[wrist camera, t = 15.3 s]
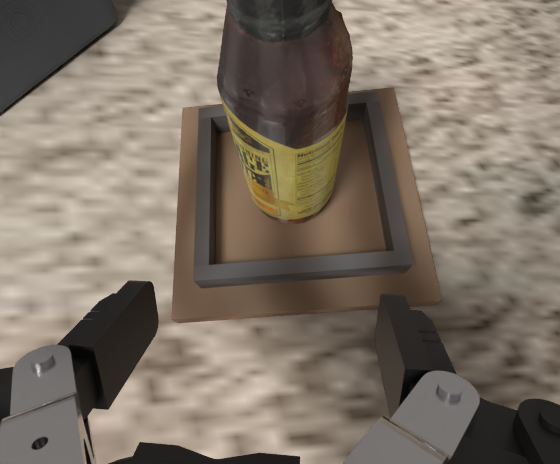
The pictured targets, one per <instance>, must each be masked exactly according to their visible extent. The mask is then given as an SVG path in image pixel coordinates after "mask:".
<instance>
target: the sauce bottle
mask: <svg viewBox="0 0 560 464" xmlns="http://www.w3.org/2000/svg"><path fill="white" fill-rule="evenodd" d="M352 59H353V56H352V46H351V41H350V35H349V33H348V31H347V28H346V26H345V23H344V21H343V18H342V14H341V12H339V11H337V10H336V9H335V7H334V5H333V3H332V0H227V8H226V15H225V22H224V30H223V37H222V45H221V52H220V60H219V67H218V74H217V86H218V90H219V93H220V97H221V100H222V104H223V108H224V111H225V114H226V117H227V120H228V124H229V127H230V130H231V134H232V137H233V141H234V145H235V147H236V150H237V154H238V157H239V160H240V163H241V167H242V170H243V173H244V176H245V180H246V183H247V186H248V190H249V193H250V195H251V198H252V199H253V201H254V202H255V204H256V205H257V206H258V207H259V209H260V210H261V211H262V212H263V213H264V214H265V215H266V216H267V217H269V218H270V219H271V220H275V221H278V222H284V223H296V224H297V223H303V222H305V221H307V220H309V219H311V218H313V217H314V216H316V215H317V214H318V213H319V212H320V211H321V210H322V209H323V208H324V207H326V205H327V204H328V202H329V200H330V196H331V194H332V191H333V188H334V182H335V177H336V171H337V165H338V160H339V154H340V149H341V143H342V137H343V132H344V126H345V121H346V115H347V109H348V103H349V95H348V88H349V83H350V77H351V72H352Z"/></svg>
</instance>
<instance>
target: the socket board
mask: <svg viewBox="0 0 560 464" xmlns="http://www.w3.org/2000/svg"><path fill="white" fill-rule="evenodd" d="M348 95H349V103H348V109H347V115H346V121H345V126H344V132H343V137H342V143H341V149H340V154H339V160H338V165H337V171H336V177H335V182H334V188H333V191H332V194H331V196H330V200H329V202H328V204H327V205H326V207H324V208H323V209H322V210H321V211H320V212H319V213H318V214H317V215H316V216H314V217H313V218H311V219H309V220H307V221H305V222H303V223H297V224H296V223H284V222H278V221H275V220H271V219H270V218H269V217H267V216H266V215H265V214H264V213H263V212H262V211H261V210H260V209H259V207H258V206H257V205H256V204H255V202H254V201H253V199H252V198H251V195H250V193H249V190H248V186H247V183H246V180H245V176H244V173H243V170H242V167H241V163H240V160H239V157H238V154H237V150H236V147H235V145H234V141H233V137H232V134H231V130H230V127H229V124H228V120H227V117H226V114H225V111H224V108H223V104H217V105H207V106H197V107H186V108H183V111H182V130H181V149H180V168H179V187H178V206H177V225H176V244H175V262H174V281H173V300H172V319H171V320H173V321H175V322H178V323H186V322H200V321H214V320H228V319H242V318H256V317H270V316H284V315H298V314H313V313H327V312H341V311H355V310H369V309H379V301H380V296H381V294H398V295H404V296H405V298H406V300H407V303H408V305H409V307H411V306H425V305H435V304H437V303H438V302H440V301H442V298H441V294H440V289H439V285H438V281H437V276H436V272H435V267H434V263H433V259H432V254H431V250H430V245H429V241H428V236H427V232H426V228H425V223H424V219H423V214H422V210H421V206H420V201H419V197H418V192H417V188H416V183H415V179H414V175H413V170H412V166H411V161H410V157H409V153H408V148H407V144H406V139H405V135H404V131H403V126H402V122H401V117H400V113H399V108H398V104H397V100H396V95H395V91H394V88H384V89H373V90H363V91H352V92H348Z"/></svg>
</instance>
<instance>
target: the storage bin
mask: <svg viewBox="0 0 560 464" xmlns="http://www.w3.org/2000/svg"><path fill="white" fill-rule="evenodd" d="M116 20H117V13H116V11H115V9H114V6H113V4H112V2H111V0H0V113H1V112H2V111H3V110H5V109H6V108H7V107H8V106H10V105H11V104H12V103H13V102H15V101H16V100H17V99H19V98H20V97H21V96H22V95H24V94H25V93H26V92H27V91H29V90H30V89H31V88H33V87H34V86H35V85H36V84H38V83H39V82H40V81H41V80H43V79H44V78H45V77H46V76H48V75H49V74H50V73H52V72H53V71H54V70H56V69H57V68H58V67H59V66H61V65H62V64H63V63H65V62H66V61H67V60H69V59H70V58H71V57H72V56H74V55H75V54H76V53H78V52H79V51H80V50H81V49H83V48H84V47H85V46H87V45H88V44H89V43H90V42H92V41H93V40H94V39H96V38H97V37H98V36H99V35H101V34H102V33H103V32H105V31H106V30H107V29H108V28H110V27H111V26H112V25H113V24H114V23H115V22H116Z"/></svg>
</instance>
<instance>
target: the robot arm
mask: <svg viewBox="0 0 560 464" xmlns="http://www.w3.org/2000/svg"><path fill="white" fill-rule="evenodd" d="M157 329H158V312H157V305H156V299H155V292H154V286H153V284H152V282H150V281H131V280H130V281H128V282H127V283H126V284H125V285H124V286H123V287H122V288H121V289H120V290H119V291H118V292H117V293H116V294H115V293H113V294H111V295H109V296H108V297H106V298H104V299H103V300H101V301H99V302H98V303H97V304H96V305H95V306H94V307H93V308H92V310H91V312H89V313H88V314H87V315H86V316H85V317H84V318H83V320H81V321H80V322H79V323H78V324H77V325H76V326H75V327H74V328H73V329H72V330H71V331H70V332H69V333H68V334H67V335H66V336H65V337H64V338H63V339H62V340H61V341H60V342H59V343H58V344H57V345H50V346H45V347H41V348H38V349H36V350H34V351H32V352H30V353H28V354H26V355H25V356H23V357H22V358H21V359H20V360H19V361H18V362H17V363H16V364H15V366H14V367H10V368H4V369H0V464H97V463H96V457H95V451H94V445H93V439H92V434H91V428H90V422H89V418H88V415H89V413H90V412H91V410H92V409H93V408H95V409H107V410H108V409H109V408H110V406H111V405H112V403H113V401H114V400H115V398H116V397H117V395H118V393H119V392H120V390H121V389H122V387H123V386H124V384H125V382H126V381H127V379H128V378H129V376H130V374H131V373H132V371H133V370H134V368H135V367H136V365H137V363H138V362H139V360H140V359H141V357H142V355H143V354H144V352H145V351H146V349H147V348H148V346H149V344H150V343H151V341H152V340H153V338H154V337H155V335H156V332H157ZM375 342H376V351H377V356H378V361H379V365H380V370H381V375H382V380H383V384H384V389H385V394H386V398H387V403H388V408H389V413H390V417H391V418H390V419H387V418H386V417H384V416H383V417H380V418H379V419H378V420H377V421H376V422H375V424H374V425H373V426H372V427H371V429H370V430H369V431H368V432H367V434H366V435H365V436H364V437H363V439H362V440H361V441H360V442H359V444H358V445H357V446H356V447H355V449H354V450H353V451H352V452H351V454H350V455H349V456H348V457H347V459H346V460H345V461H344V462H343V464H560V405H558V404H555V403H553V402H550V401H546V400H542V399H528V400H525V401H523V402H521V404H520V405H519V407H518V410H514V409H510V408H507V407H504V406H501V405H497V404H494V403H491V402H488V401H486V400H484V399H482V398H480V397H479V395H478V392H477V391H476V389H475V388H474V387H473V386H472V384H470V383H469V382H468V381H467V380H465V379H464V378H462V377H460V376H458V375H457V374H456V372H455V370H454V368H453V365H452V363H451V361H450V359H449V357H448V355H447V353H446V350H445V348H444V346H443V344H442V343H441V340H440V338H439V335H438V334H437V331H436V329H435V327H434V325H433V323H432V320H430V319H429V318H428V317H427V316H426V315H425V314H424V313H423V312H422V311H419V310H410V308H409V305H408V303H407V300H406V298H405V296H404V295H398V294H381V296H380V301H379V309H378V317H377V325H376V336H375ZM109 464H300V457H299V456H288V455H277V454H266V453H256V454H249V455H243V456H236V457H230V458H224V459H212V458H210V457H207V456H204V455H202V454H199V453H196V452H194V451H191V450H188V449H186V448H183V447H180V446H177V445H166V444H155V443H144V442H140V443H139V445H138V447H137V449H136V451H135V453H134V455H133V456H132V457H127V458H124V459H120V460H117V461H114V462H112V463H109Z"/></svg>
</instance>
